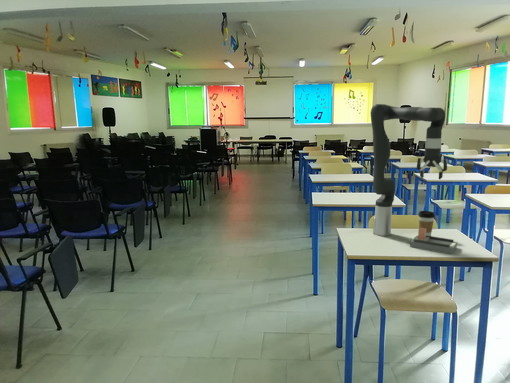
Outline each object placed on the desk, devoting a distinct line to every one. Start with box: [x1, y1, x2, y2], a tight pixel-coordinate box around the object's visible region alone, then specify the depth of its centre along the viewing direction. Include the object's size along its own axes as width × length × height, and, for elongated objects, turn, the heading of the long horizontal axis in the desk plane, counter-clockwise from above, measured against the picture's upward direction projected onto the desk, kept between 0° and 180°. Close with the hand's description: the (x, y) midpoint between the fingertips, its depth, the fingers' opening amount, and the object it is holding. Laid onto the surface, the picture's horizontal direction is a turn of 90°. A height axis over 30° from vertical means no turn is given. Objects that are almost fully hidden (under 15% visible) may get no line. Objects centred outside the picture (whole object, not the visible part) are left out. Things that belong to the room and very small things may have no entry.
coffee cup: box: [417, 210, 435, 236], centre depth 218 cm, size 8×8×15 cm
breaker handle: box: [414, 228, 430, 241], centre depth 205 cm, size 6×7×6 cm
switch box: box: [409, 235, 458, 255], centre depth 202 cm, size 20×12×4 cm, turn 53°
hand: (430, 178), depth 201 cm, fingers open, 8 cm apart
